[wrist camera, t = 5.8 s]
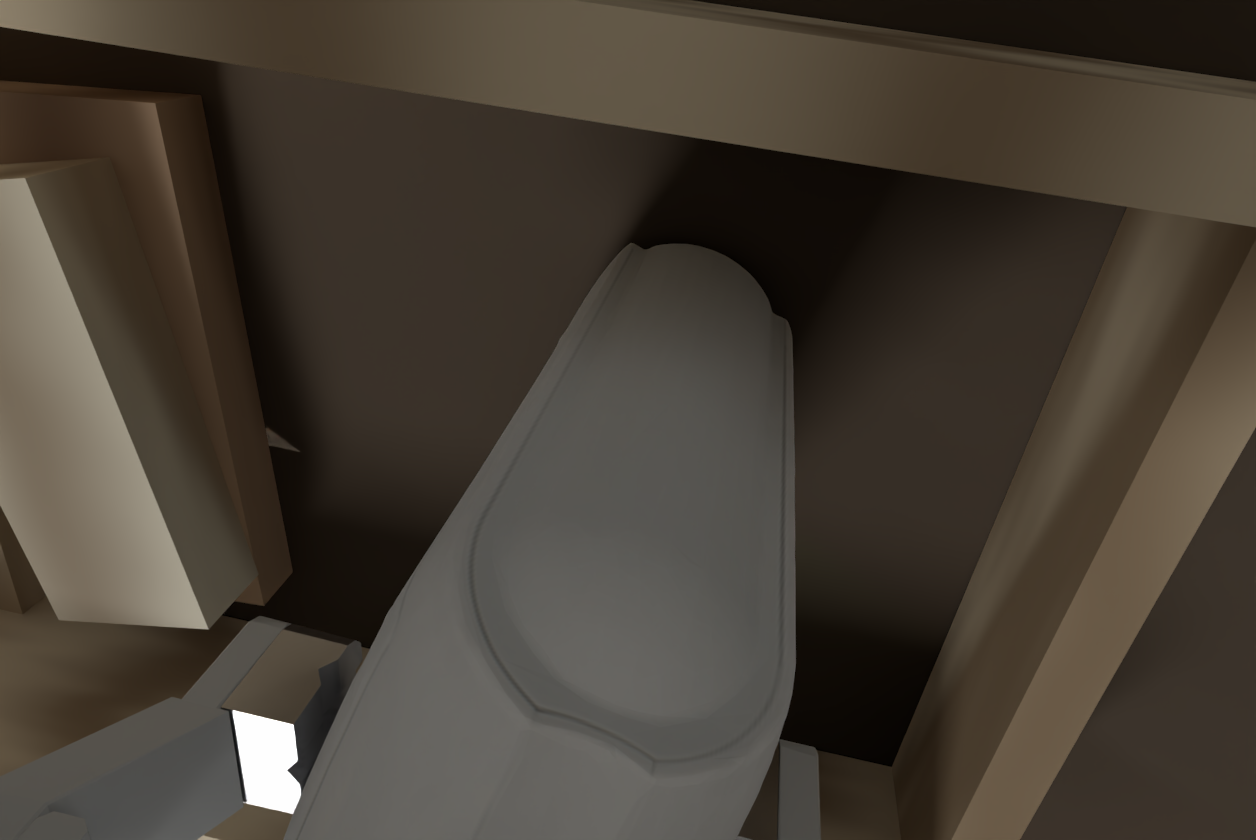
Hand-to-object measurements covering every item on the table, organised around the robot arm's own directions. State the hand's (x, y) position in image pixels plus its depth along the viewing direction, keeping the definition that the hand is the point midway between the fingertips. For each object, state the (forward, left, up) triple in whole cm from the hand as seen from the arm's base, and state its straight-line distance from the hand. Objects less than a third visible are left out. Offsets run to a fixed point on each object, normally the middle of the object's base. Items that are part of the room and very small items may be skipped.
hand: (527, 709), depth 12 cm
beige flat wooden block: (+11, 0, -8) cm, 14 cm away
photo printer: (0, 0, -8) cm, 8 cm away
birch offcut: (+11, 0, -6) cm, 13 cm away
